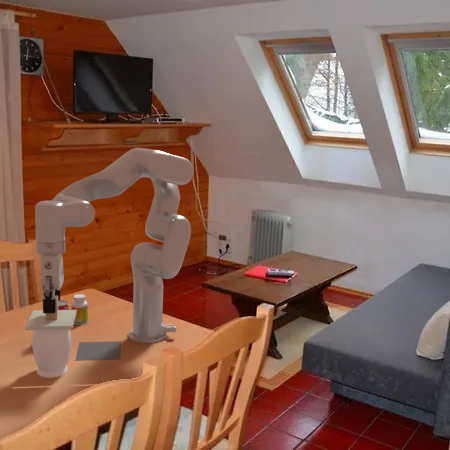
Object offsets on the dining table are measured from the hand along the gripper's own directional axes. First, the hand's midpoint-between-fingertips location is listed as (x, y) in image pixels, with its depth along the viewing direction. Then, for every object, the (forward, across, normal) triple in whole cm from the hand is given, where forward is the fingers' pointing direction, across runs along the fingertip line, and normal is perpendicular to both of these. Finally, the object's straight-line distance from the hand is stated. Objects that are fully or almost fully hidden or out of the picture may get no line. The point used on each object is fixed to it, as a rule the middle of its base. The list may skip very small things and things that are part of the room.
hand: (51, 306), depth 155 cm
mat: (+19, +12, -12) cm, 26 cm away
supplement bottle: (+20, +36, -4) cm, 41 cm away
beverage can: (+20, +23, +1) cm, 30 cm away
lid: (+4, 0, 0) cm, 4 cm away
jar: (+20, 0, 0) cm, 20 cm away
